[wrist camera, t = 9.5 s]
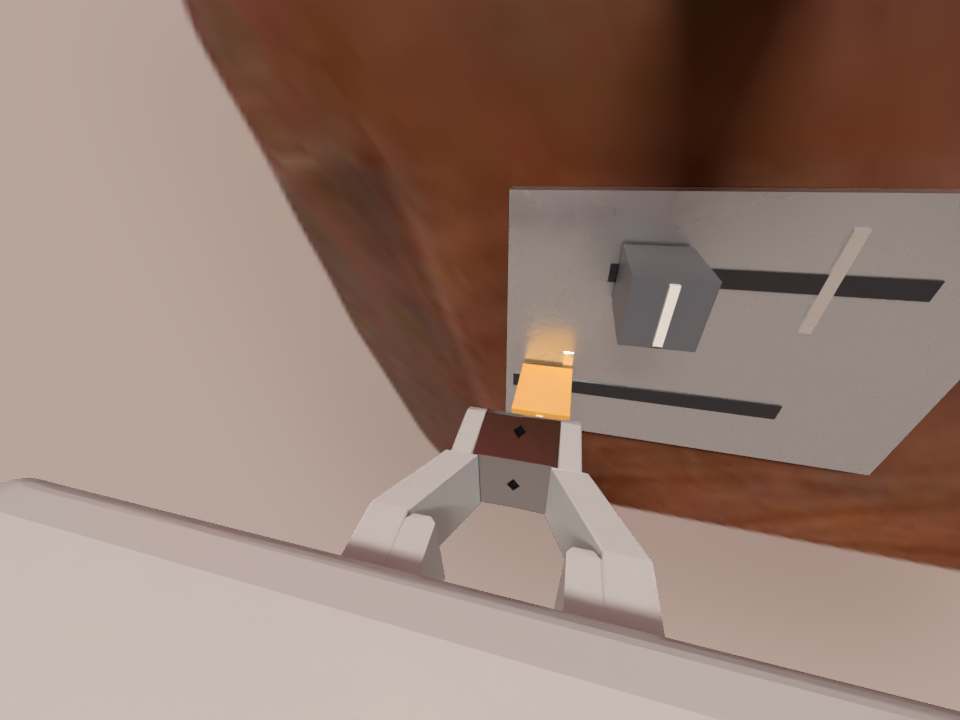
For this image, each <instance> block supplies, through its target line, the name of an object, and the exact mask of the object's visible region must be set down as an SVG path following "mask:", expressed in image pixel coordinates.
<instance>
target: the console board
mask: <svg viewBox="0 0 960 720" xmlns="http://www.w3.org/2000/svg"><path fill="white" fill-rule="evenodd" d="M623 244H633V245H657V246H682V247H694V248H695V249H696V250H697V252H698V253H699V254H700V255H701V257H702V258H703V259H704V260H705V261H706V263H707V264H708V265H709V266H710V268H711V269H712V270H713V271H714V272H715V274H716V275H717V276H718V277H719V279H720V280H721V281H722V284H721V287H720V289H719V292H718V295H717V297H716V300H715V302H714V305H713V308H712V310H711V313H710V316H709V318H708V321H707V323H706V326H705V329H704V331H703V334H702V336H701V339H700V342H699V344H698V347H697V349H696V352H686V351H676V350H666V349H656V348H646V347H636V346H627V345H617V339H616V332H615V324H614V316H613V309H612V299H613V294H614V289H615V284H616V279H617V274H618V269H619V264H620V259H621V254H622V249H623ZM523 363H526V364H535V365H543V366H551V367H560V368H568V369H573V373H572V390H571V407H570V419H569V420H570V421H578V422H581V424H582V431H588V432H594V433H600V434H607V435H613V436H620V437H626V438H633V439H639V440H645V441H652V442H658V443H665V444H671V445H678V446H684V447H691V448H697V449H703V450H710V451H716V452H723V453H729V454H736V455H742V456H748V457H755V458H761V459H768V460H774V461H781V462H787V463H794V464H800V465H806V466H813V467H819V468H826V469H832V470H839V471H845V472H852V473H858V474H864V475H870V473H871V472H872V471H873V470H874V469H875V468H876V467H877V466H878V465H879V464H880V463H881V462H882V461H883V460H884V459H885V458H886V457H887V456H888V454H889V453H890V452H891V451H892V450H893V449H894V448H895V447H896V446H897V445H898V444H899V443H900V442H901V441H902V440H903V439H904V438H905V437H906V436H907V434H908V433H909V432H910V431H911V430H912V429H913V428H914V427H915V426H916V425H917V424H918V423H919V422H920V421H921V420H922V419H923V418H924V417H925V416H926V414H927V413H928V412H929V411H930V410H931V409H932V408H933V407H934V406H935V405H936V404H937V403H938V402H939V401H940V400H941V399H942V398H943V397H944V396H945V394H946V393H947V392H948V391H949V390H950V389H951V388H952V387H953V386H954V385H955V384H956V383H957V382H958V381H959V380H960V189H928V188H766V187H605V186H513V187H512V188H511V189H510V200H509V259H508V317H507V375H506V412H510V413H511V408H512V404H513V400H514V396H515V392H516V389H517V385H518V381H519V377H520V373H521V370H522V366H523Z"/></svg>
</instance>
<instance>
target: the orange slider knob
mask: <svg viewBox="0 0 960 720" xmlns="http://www.w3.org/2000/svg"><path fill="white" fill-rule="evenodd" d="M572 373H573V369H568V368H560V367H551V366H543V365H535V364H526V363H523V366H522V370H521V373H520V377H519V381H518V385H517V389H516V392H515V396H514V400H513V404H512V408H511V413H516V414H522V415H530V416H538V417H546V418H553V419H560V420H561V419H562V420H569V419H570V407H571V390H572Z"/></svg>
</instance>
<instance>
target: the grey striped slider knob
mask: <svg viewBox="0 0 960 720" xmlns="http://www.w3.org/2000/svg"><path fill="white" fill-rule="evenodd" d="M721 284H722V281H721V280H720V279H719V277H718V276H717V275H716V274H715V272H714V271H713V270H712V269H711V268H710V266H709V265H708V264H707V263H706V261H705V260H704V259H703V258H702V257H701V255H700V254H699V253H698V252H697V250H696V249H695V248H694V247H682V246H657V245H633V244H623V249H622V254H621V259H620V264H619V269H618V274H617V279H616V284H615V289H614V294H613V299H612V309H613V316H614V324H615V332H616V339H617V345H627V346H636V347H646V348H656V349H666V350H676V351H686V352H696V349H697V347H698V344H699V342H700V339H701V336H702V334H703V331H704V329H705V326H706V323H707V321H708V318H709V316H710V313H711V310H712V308H713V305H714V302H715V300H716V297H717V295H718V292H719V289H720V287H721Z"/></svg>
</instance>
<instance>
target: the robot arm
mask: <svg viewBox="0 0 960 720" xmlns="http://www.w3.org/2000/svg"><path fill="white" fill-rule="evenodd" d="M480 502H486V503H492V504H498V505H504V506H510V507H515V508H519V509H524V510H528V511H532V512H537V513H541V514H545V517H546V519H547V522H548V524H549V526H550V528H551V530H552V533H553V535H554V537H555V539H556V541H557V544H558V546H559V548H560V550H561V552H562V555H563V557H564V559H565V560H564V565H563V569H562V574H561V579H560V583H559V588H558V593H557V597H556V602H555V609H551V608H547V607H543V606H539V605H535V604H531V603H527V602H523V601H519V600H515V599H511V598H507V597H503V596H499V595H495V594H491V593H488V592H484V591H479V590H476V589H472V588H468V587H464V586H460V585H456V584H452V583H448V582H444V579H445V575H444V570H443V565H442V558H441V553H440V547H439V546H440V545H441V544H442V543H443V542H444V541H445V540H446V539H447V538H448V537H449V536H450V535H451V533H452V532H453V531H454V530H455V529H456V528H457V527H458V526H459V525H460V524H461V523H462V522H463V521H464V520H465V519H466V518H467V517H468V516H469V515H470V514H471V513H472V512H473V511H474V510H475V509H476V508H477V507H478V506H479V504H480ZM0 720H960V712H959V711H955V710H951V709H947V708H943V707H939V706H935V705H931V704H928V703H923V702H920V701H915V700H911V699H908V698H904V697H900V696H896V695H892V694H887V693H884V692H880V691H876V690H872V689H868V688H864V687H860V686H855V685H852V684H848V683H844V682H840V681H836V680H832V679H828V678H824V677H820V676H816V675H812V674H808V673H804V672H800V671H796V670H792V669H788V668H784V667H780V666H777V665H773V664H769V663H764V662H760V661H756V660H753V659H749V658H745V657H741V656H737V655H732V654H729V653H725V652H721V651H717V650H713V649H708V648H705V647H701V646H697V645H693V644H689V643H685V642H681V641H677V640H674V639H670V638H666V637H665V635H664V629H663V623H662V616H661V610H660V604H659V598H658V592H657V586H656V579H655V573H654V567H653V562H652V561H651V560H650V558H649V557H648V555H647V554H646V552H645V551H644V550H643V548H642V547H641V546H640V544H639V543H638V542H637V540H636V539H635V537H634V536H633V535H632V533H631V532H630V531H629V529H628V528H627V527H626V525H625V524H624V522H623V521H622V520H621V518H620V517H619V515H618V514H617V513H616V512H615V510H614V509H613V507H612V506H611V504H610V503H609V502H608V500H607V499H606V497H605V496H604V495H603V493H602V492H601V491H600V489H599V488H598V486H597V485H596V484H595V482H594V481H593V480H592V478H591V477H590V475H589V474H588V473H582V424H581V422H578V421H570V420H562V419H561V420H560V419H553V418H546V417H538V416H530V415H522V414H516V413H510V412H503V411H497V410H491V409H482V408H477V407H471V406H470V407H469V408H468V410H467V411H466V414H465V417H464V419H463V422H462V424H461V427H460V429H459V432H458V434H457V437H456V439H455V442H454V444H453V447H452V449H451V450H445V451H443V452H442V453H440V454H439V455H437V456H436V457H434V458H433V459H432V460H430V461H429V462H427V463H426V464H424V465H423V466H422V467H420V468H419V469H417V470H416V471H414V472H413V473H412V474H410V475H409V476H407V477H406V478H404V479H403V480H402V481H400V482H399V483H397V484H396V485H394V486H393V487H392V488H390V489H389V490H387V491H386V492H384V493H383V494H381V495H380V496H379V497H377V498H376V499H374V500H373V501H372V502H371V503H370V505H369V506H368V508H367V510H366V512H365V513H364V515H363V517H362V519H361V521H360V522H359V524H358V526H357V528H356V530H355V531H354V533H353V535H352V537H351V539H350V540H349V542H348V544H347V546H346V547H345V550H344V551H343V553H342V555H337V554H332V553H329V552H325V551H321V550H317V549H313V548H309V547H305V546H301V545H296V544H293V543H289V542H285V541H280V540H277V539H273V538H269V537H265V536H261V535H257V534H253V533H249V532H245V531H241V530H237V529H233V528H229V527H225V526H222V525H217V524H214V523H209V522H205V521H201V520H198V519H194V518H190V517H185V516H182V515H178V514H174V513H170V512H166V511H162V510H158V509H154V508H150V507H146V506H142V505H138V504H134V503H130V502H126V501H122V500H118V499H114V498H110V497H106V496H102V495H98V494H95V493H91V492H87V491H83V490H79V489H75V488H71V487H66V486H63V485H59V484H55V483H52V482H48V481H44V480H39V479H33V478H21V479H14V480H11V481H8V482H4V483H1V484H0Z"/></svg>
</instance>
